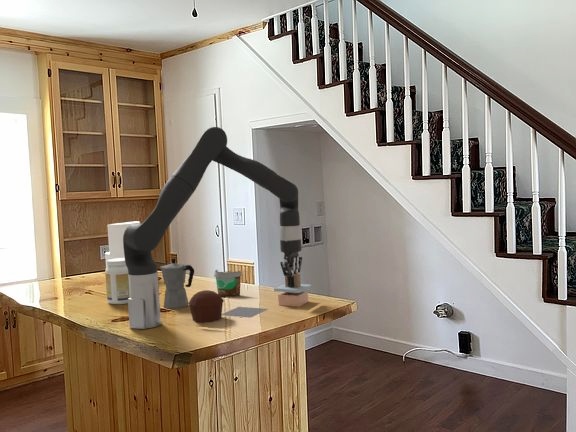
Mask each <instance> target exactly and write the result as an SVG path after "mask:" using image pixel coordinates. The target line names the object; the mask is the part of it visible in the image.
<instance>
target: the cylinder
mask: <svg viewBox="0 0 576 432" xmlns="http://www.w3.org/2000/svg"><path fill="white" fill-rule="evenodd" d="M136 223H140V224H141V222H140V221H138V220H137V221H127V222H118V223H110V224H107V239H108V240H107V241H108V251H107V252H105V253H104V254H105V255H104V258H105V269H106V268H107V267H108V265H107V260H110V259H116V258H125V256H124V247H123V235H124V232H125V230H126V228H127V227H128V226H130V225H132V224H136Z"/></svg>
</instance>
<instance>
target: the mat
mask: <svg viewBox="0 0 576 432" xmlns="http://www.w3.org/2000/svg"><path fill="white" fill-rule="evenodd" d="M267 310H268V308H263V307H262V308H260V307H245V306H237V307H235V308H232V309H231V310H228V311H226V312H222V315H221V316H228V317H229V316H230V317H239V318H240V317H242V318H253V317H254V316H257V315H258V314H260V313H263V312H264V311H267Z"/></svg>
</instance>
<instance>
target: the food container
mask: <svg viewBox="0 0 576 432" xmlns="http://www.w3.org/2000/svg"><path fill="white" fill-rule="evenodd" d="M242 276H243V274H242V271H241V270H238V271H236V270H235V271H229V270H228V271H227V270H226V271H219V269H215V270H214V273H213V277H214V278H215V281H216V282H215V283H216V288H217V294H219V295H220V296H221V297H222V298H234V297H238V296H240V295H241V279H242V278H241V277H242Z"/></svg>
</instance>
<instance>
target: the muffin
mask: <svg viewBox="0 0 576 432" xmlns="http://www.w3.org/2000/svg"><path fill="white" fill-rule="evenodd" d="M224 301H225V300H224V299H223V297H221V296H220V295H219V294H218V292H216V291H214V290H206V289H205V290H201V291H197V292H196V293H195V294H194V295H193V296H192V297H191V298H190V300H188V303H189V304H188V306H189V308H190V313H191V317H192V321H194V322H195V323H200V324H202V323H203V324H204V323H212V322H216V321H220V319H221V318H222V316H223V315H222V314H223V303H224Z"/></svg>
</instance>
